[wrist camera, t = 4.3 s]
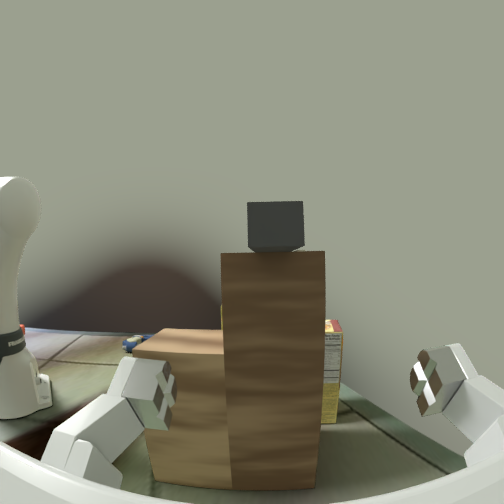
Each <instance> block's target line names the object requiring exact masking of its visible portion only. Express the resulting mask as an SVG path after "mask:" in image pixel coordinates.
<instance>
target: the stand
mask: <svg viewBox="0 0 504 504" xmlns="http://www.w3.org/2000/svg"><path fill="white" fill-rule="evenodd" d="M221 290H222V322H223V330H191V329H163V330H161V331H160V332H158V333H157V334H155V335H154V336H152V337H150V338H149V339H147V340H146V341H144V342H143V343H141V344H139V345H138V346H136V347H135V348H133V349H132V355H133V357H134V358H143V359H151V360H161V361H169V363H170V366H171V372H170V374H171V375H173V376H174V377H175V380H176V384H177V397H176V402H175V404H174V405H173V406H171V407H170V410H171V412H172V414H173V415H172V419H171V423H170V428H169V431H167V430H158V429H149V428H145V430H144V434H145V439H146V444H147V448H148V453H149V457H150V462H151V466H152V470H153V474H154V478H155V481H160V482H165V483H172V484H178V485H186V486H194V487H203V488H214V489H228V490H295V489H309V488H314V487H315V479H316V470H317V461H318V451H319V440H320V428H321V415H322V400H323V382H324V358H325V251H305V250H297V251H294V252H256V253H221Z"/></svg>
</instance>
